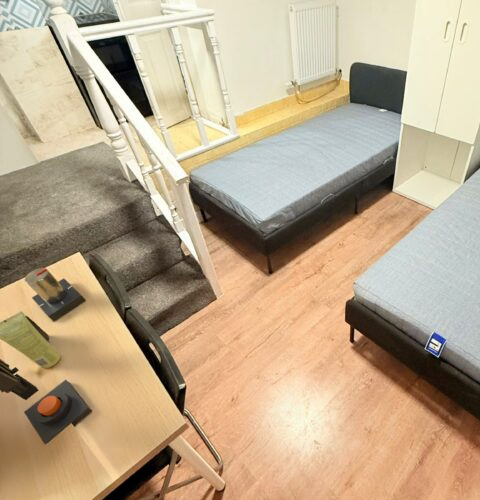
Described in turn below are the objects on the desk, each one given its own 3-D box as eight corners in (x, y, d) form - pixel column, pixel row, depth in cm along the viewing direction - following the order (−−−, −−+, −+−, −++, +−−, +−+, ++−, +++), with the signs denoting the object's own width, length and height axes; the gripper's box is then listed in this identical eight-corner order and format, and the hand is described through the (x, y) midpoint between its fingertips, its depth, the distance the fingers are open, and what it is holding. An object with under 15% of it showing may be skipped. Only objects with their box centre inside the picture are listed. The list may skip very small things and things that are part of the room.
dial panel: (37, 303, 108) (30, 297, 106) (69, 283, 114) (63, 277, 111) (53, 322, 102) (47, 316, 100) (86, 300, 108) (81, 294, 106)
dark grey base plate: (29, 414, 83) (18, 408, 80) (70, 382, 88) (61, 376, 86) (50, 447, 78) (39, 441, 75) (92, 410, 83) (83, 404, 80)
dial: (50, 306, 103) (29, 285, 96) (42, 298, 105) (20, 276, 98) (70, 294, 106) (50, 272, 99) (61, 285, 109) (41, 264, 102)
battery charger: (34, 339, 98) (8, 317, 90) (49, 334, 99) (24, 312, 91) (32, 359, 94) (4, 338, 86) (47, 353, 95) (21, 331, 87)
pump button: (39, 409, 80) (34, 405, 79) (57, 395, 83) (52, 392, 81) (47, 419, 79) (41, 416, 77) (64, 405, 81) (59, 402, 79)
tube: (49, 349, 96) (2, 309, 82) (66, 350, 95) (21, 310, 82) (36, 368, 92) (-16, 329, 78) (53, 369, 91) (3, 331, 78)
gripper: (-20, 341, 57) (61, 397, 74) (-43, 305, 63) (36, 364, 80) (-74, 375, 53) (24, 426, 70) (-94, 334, 59) (1, 389, 76)
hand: (31, 393), depth 75 cm, fingers closed
